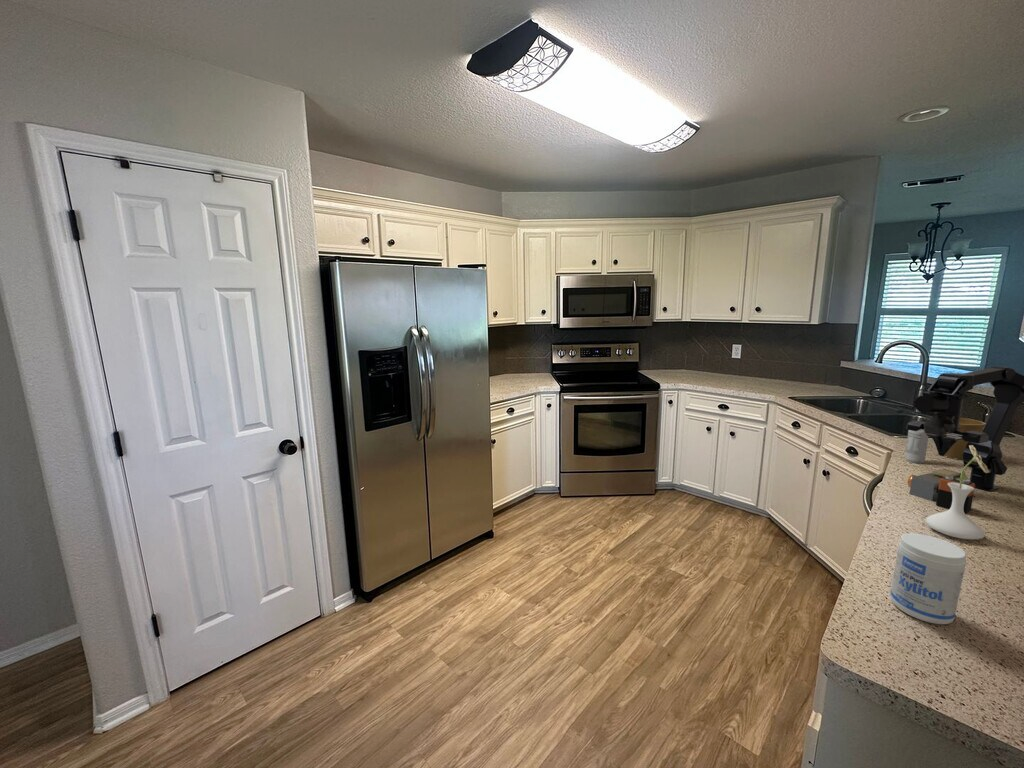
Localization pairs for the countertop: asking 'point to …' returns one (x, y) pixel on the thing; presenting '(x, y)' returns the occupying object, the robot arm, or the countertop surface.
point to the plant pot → (960, 445)
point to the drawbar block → (926, 485)
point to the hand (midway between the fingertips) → (941, 455)
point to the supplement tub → (928, 578)
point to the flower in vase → (958, 509)
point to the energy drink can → (916, 446)
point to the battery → (946, 493)
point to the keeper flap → (946, 473)
